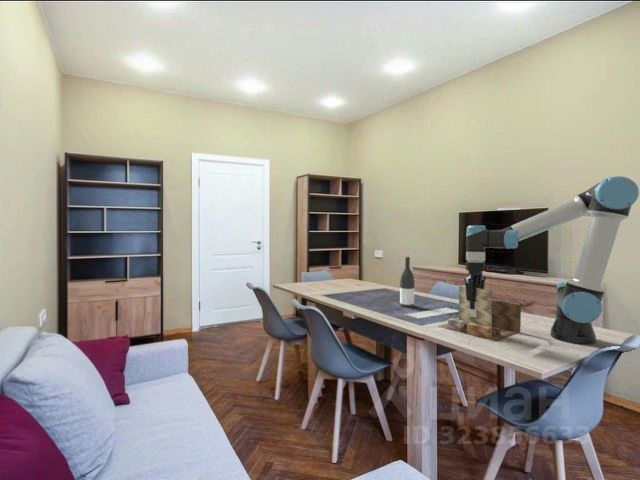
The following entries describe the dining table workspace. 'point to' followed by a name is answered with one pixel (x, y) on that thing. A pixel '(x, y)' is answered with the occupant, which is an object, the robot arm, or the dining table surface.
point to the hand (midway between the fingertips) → (474, 316)
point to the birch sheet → (482, 307)
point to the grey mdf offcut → (456, 324)
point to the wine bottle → (407, 286)
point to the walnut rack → (500, 320)
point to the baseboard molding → (431, 313)
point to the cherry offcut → (479, 330)
